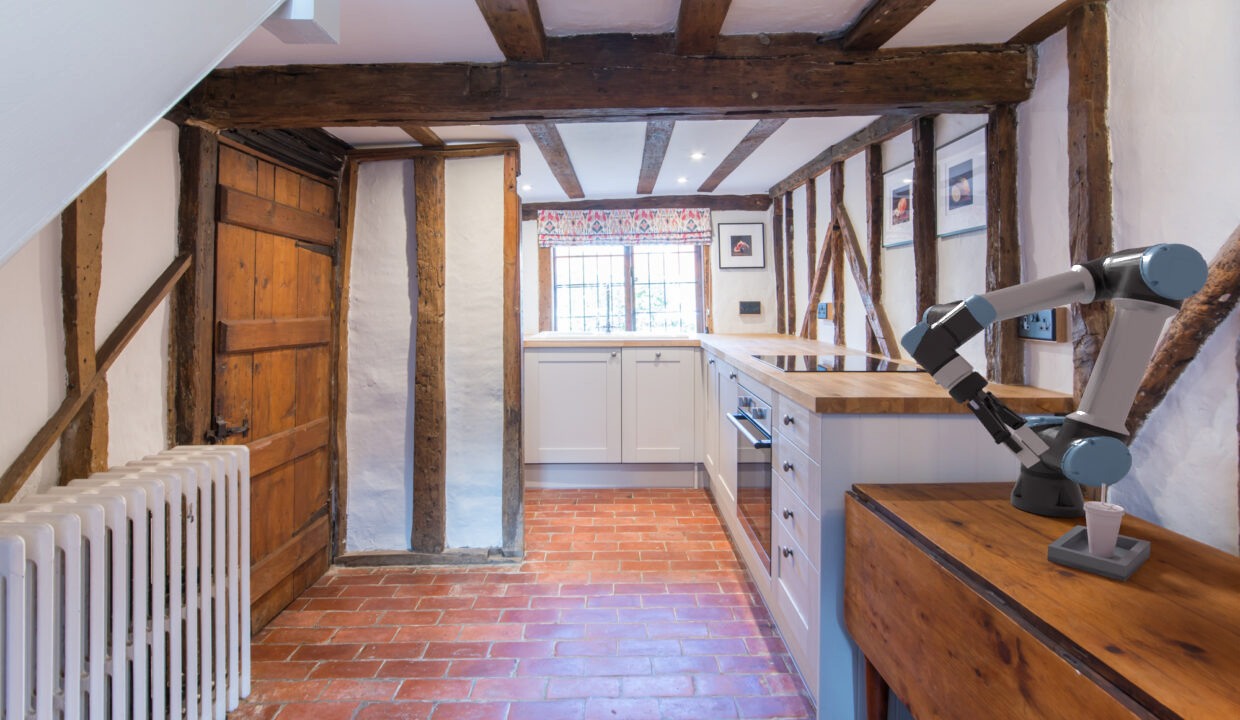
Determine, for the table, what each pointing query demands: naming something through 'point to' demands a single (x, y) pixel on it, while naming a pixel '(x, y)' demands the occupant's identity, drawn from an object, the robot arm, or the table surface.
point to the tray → (1076, 555)
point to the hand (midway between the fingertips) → (1039, 457)
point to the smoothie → (1103, 525)
